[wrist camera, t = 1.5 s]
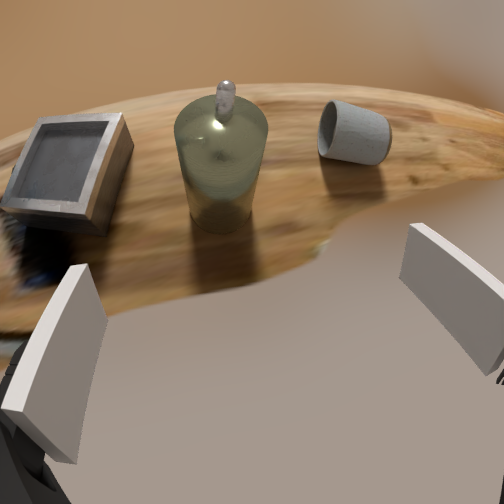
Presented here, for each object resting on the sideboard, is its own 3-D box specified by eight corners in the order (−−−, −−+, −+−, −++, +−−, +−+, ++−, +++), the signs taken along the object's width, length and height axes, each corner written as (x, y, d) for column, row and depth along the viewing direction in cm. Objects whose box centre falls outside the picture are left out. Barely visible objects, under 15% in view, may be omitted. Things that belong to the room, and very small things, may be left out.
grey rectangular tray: (11, 224, 31) (-15, 205, 25) (42, 145, 35) (24, 119, 29) (106, 236, 32) (84, 214, 26) (134, 145, 36) (122, 112, 30)
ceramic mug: (375, 177, 38) (402, 144, 31) (319, 168, 37) (338, 131, 30) (363, 120, 41) (383, 86, 34) (313, 110, 41) (327, 72, 33)
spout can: (247, 238, 34) (269, 148, 18) (184, 230, 33) (158, 137, 17) (253, 182, 36) (275, 78, 20) (195, 175, 35) (183, 69, 20)
